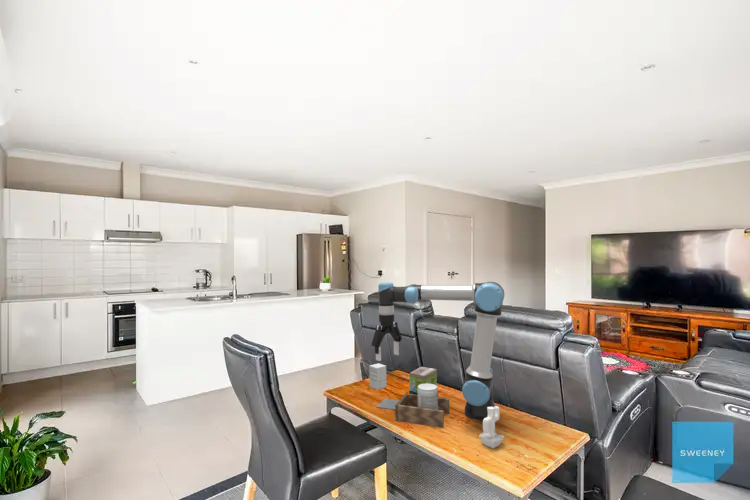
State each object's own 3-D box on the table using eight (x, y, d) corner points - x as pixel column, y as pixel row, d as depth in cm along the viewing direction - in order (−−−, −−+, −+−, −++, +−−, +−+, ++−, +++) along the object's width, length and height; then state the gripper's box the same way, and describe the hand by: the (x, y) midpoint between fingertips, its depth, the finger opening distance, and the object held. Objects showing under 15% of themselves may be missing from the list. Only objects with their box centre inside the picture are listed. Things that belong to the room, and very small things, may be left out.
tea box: (426, 404, 197) (425, 375, 198) (408, 400, 203) (408, 372, 203) (437, 395, 210) (437, 368, 210) (420, 392, 215) (420, 365, 216)
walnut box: (449, 413, 186) (449, 398, 186) (443, 427, 170) (442, 412, 170) (405, 407, 194) (405, 393, 194) (395, 420, 178) (395, 405, 178)
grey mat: (406, 402, 200) (406, 401, 200) (399, 410, 189) (399, 410, 189) (384, 399, 205) (384, 398, 205) (376, 407, 193) (376, 406, 193)
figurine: (477, 445, 154) (476, 407, 155) (490, 437, 160) (490, 401, 161) (492, 452, 149) (492, 413, 149) (506, 444, 155) (505, 407, 155)
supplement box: (378, 384, 229) (378, 362, 229) (386, 387, 223) (386, 365, 224) (369, 386, 224) (369, 365, 225) (377, 390, 219) (377, 367, 219)
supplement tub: (442, 418, 180) (442, 387, 180) (427, 423, 174) (426, 391, 175) (428, 411, 188) (428, 381, 188) (413, 416, 182) (413, 385, 183)
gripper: (396, 310, 200) (397, 351, 199) (363, 316, 181) (364, 361, 181) (408, 311, 195) (409, 353, 194) (375, 317, 176) (376, 364, 176)
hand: (387, 357), depth 187 cm, fingers open, 13 cm apart
